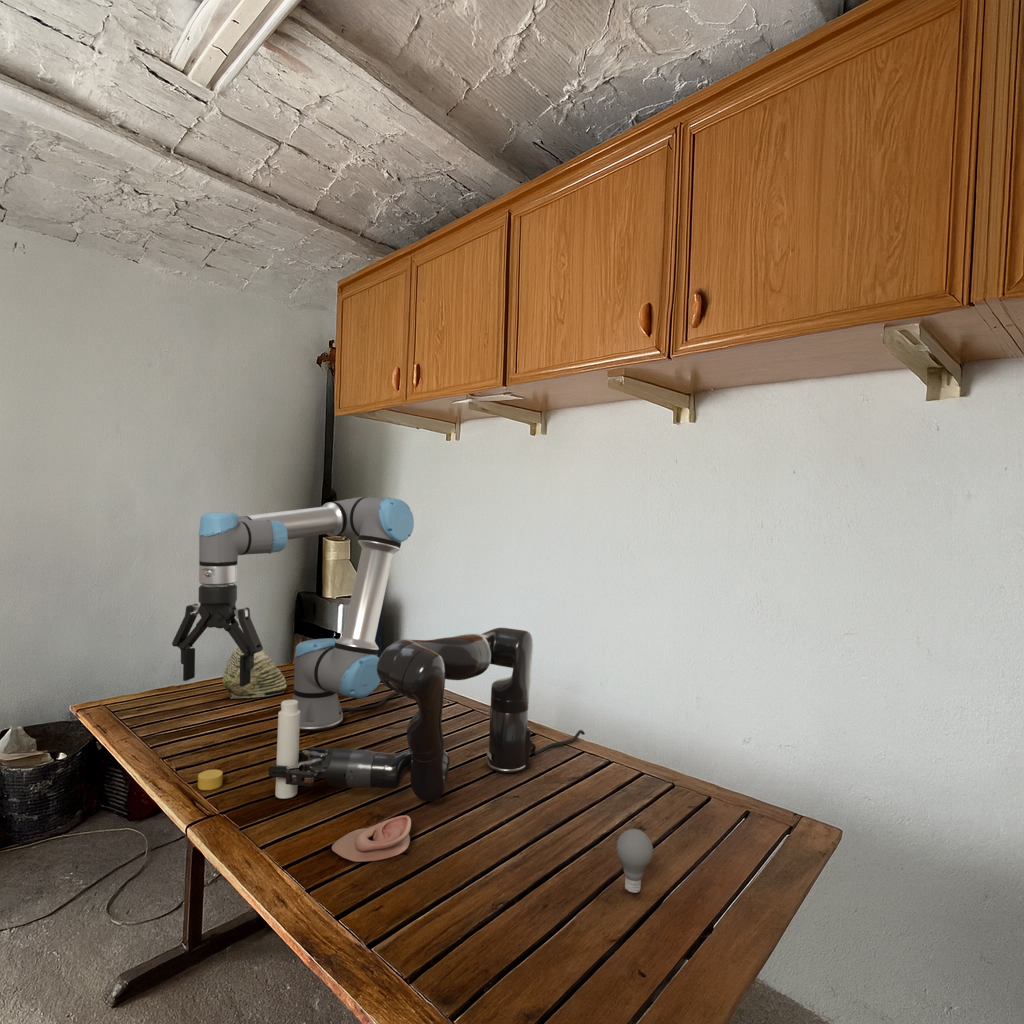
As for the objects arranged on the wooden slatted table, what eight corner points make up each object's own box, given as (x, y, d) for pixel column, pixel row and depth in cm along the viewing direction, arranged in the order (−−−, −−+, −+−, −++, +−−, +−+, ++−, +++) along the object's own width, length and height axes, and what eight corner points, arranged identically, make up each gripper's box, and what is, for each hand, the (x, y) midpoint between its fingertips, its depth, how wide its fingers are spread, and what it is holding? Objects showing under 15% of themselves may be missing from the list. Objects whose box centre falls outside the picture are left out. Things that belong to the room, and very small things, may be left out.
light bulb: (610, 879, 108) (613, 822, 108) (644, 879, 109) (647, 822, 109) (619, 902, 102) (622, 840, 102) (655, 901, 103) (658, 840, 103)
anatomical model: (323, 834, 111) (353, 804, 123) (323, 856, 111) (352, 824, 123) (394, 845, 109) (418, 814, 120) (393, 868, 109) (417, 834, 120)
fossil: (218, 695, 195) (220, 647, 195) (278, 685, 208) (279, 640, 207) (228, 703, 189) (230, 653, 188) (289, 692, 201) (290, 645, 201)
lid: (216, 790, 134) (216, 779, 134) (193, 789, 134) (193, 778, 134) (226, 780, 139) (226, 769, 139) (203, 779, 139) (204, 769, 139)
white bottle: (276, 789, 136) (280, 699, 136) (298, 788, 137) (301, 698, 137) (273, 799, 132) (277, 705, 131) (295, 798, 133) (299, 705, 132)
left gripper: (154, 583, 135) (153, 681, 136) (260, 590, 130) (258, 692, 131) (179, 578, 142) (178, 672, 143) (280, 585, 138) (278, 681, 138)
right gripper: (364, 738, 141) (291, 733, 141) (343, 764, 126) (262, 759, 127) (362, 771, 141) (289, 766, 142) (342, 802, 126) (261, 796, 127)
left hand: (216, 682), depth 137 cm, fingers open, 13 cm apart
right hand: (277, 763), depth 134 cm, fingers open, 7 cm apart
